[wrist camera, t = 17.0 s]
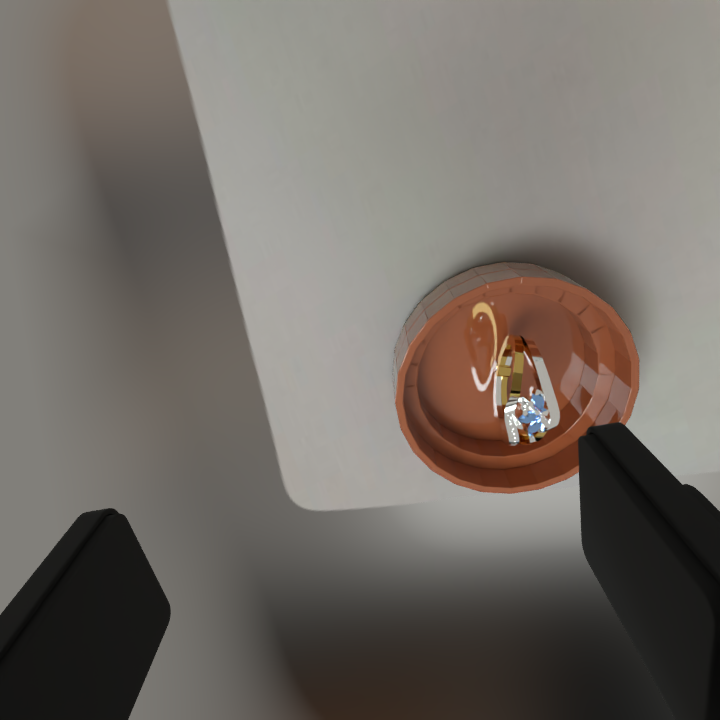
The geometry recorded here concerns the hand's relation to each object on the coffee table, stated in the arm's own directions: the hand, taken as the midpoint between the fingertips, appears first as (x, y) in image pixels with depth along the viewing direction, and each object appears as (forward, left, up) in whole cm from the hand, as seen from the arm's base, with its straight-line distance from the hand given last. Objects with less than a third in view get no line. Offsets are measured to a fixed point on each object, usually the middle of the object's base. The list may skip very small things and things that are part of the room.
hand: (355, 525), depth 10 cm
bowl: (+8, -8, -24) cm, 27 cm away
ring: (+8, -8, -24) cm, 27 cm away
